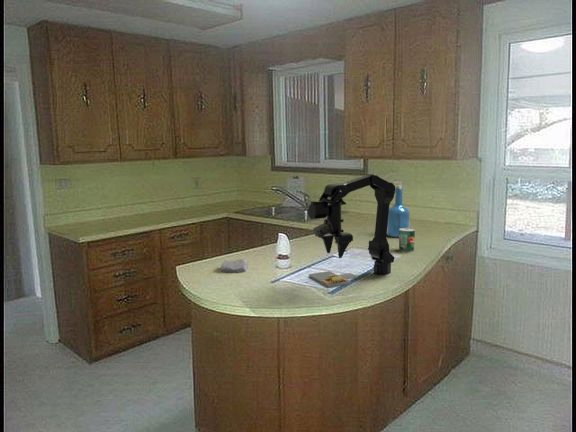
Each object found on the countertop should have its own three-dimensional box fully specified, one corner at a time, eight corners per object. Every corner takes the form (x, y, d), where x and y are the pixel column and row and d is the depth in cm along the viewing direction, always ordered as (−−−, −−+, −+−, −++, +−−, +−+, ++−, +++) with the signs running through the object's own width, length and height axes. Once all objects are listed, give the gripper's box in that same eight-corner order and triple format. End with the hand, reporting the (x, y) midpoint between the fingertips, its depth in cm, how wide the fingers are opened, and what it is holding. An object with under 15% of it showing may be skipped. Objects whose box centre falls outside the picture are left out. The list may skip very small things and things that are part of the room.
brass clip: (336, 283, 190) (336, 274, 189) (341, 286, 186) (341, 276, 185) (327, 285, 188) (327, 275, 188) (332, 288, 185) (332, 278, 184)
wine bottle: (412, 238, 274) (413, 186, 269) (389, 238, 274) (389, 186, 269) (406, 233, 287) (407, 184, 282) (384, 233, 288) (385, 184, 283)
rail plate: (329, 275, 201) (329, 270, 200) (350, 286, 186) (350, 281, 185) (308, 278, 197) (308, 273, 196) (328, 290, 181) (328, 284, 181)
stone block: (247, 276, 209) (248, 266, 219) (246, 266, 208) (247, 256, 217) (220, 277, 209) (222, 267, 218) (219, 268, 207) (221, 258, 217)
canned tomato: (414, 252, 240) (415, 230, 238) (399, 251, 241) (399, 230, 239) (414, 248, 247) (414, 228, 245) (398, 248, 249) (398, 227, 247)
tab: (350, 275, 201) (350, 272, 201) (359, 279, 195) (359, 277, 194) (337, 277, 198) (337, 274, 198) (346, 281, 192) (346, 279, 192)
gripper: (304, 215, 189) (305, 253, 192) (327, 222, 173) (328, 263, 175) (328, 212, 194) (329, 249, 196) (353, 219, 177) (353, 259, 180)
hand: (334, 255), depth 187 cm, fingers open, 9 cm apart
